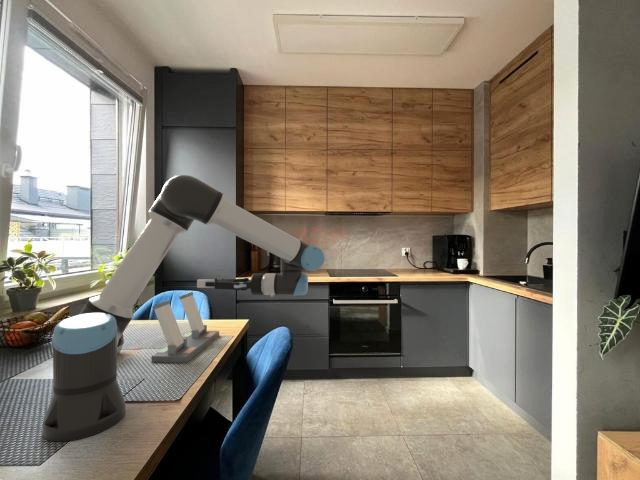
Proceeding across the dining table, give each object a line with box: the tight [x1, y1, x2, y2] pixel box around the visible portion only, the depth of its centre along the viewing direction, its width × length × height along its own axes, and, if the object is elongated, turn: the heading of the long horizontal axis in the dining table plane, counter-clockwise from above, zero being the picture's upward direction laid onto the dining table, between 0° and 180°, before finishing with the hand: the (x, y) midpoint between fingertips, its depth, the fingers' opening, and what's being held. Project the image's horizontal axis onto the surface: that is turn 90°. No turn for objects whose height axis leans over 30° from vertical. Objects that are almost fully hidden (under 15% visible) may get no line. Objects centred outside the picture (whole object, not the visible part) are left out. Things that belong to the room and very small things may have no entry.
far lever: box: [178, 291, 205, 335], centre depth 131 cm, size 3×6×18 cm, turn 177°
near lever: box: [152, 300, 184, 351], centre depth 113 cm, size 3×6×18 cm, turn 177°
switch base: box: [151, 324, 220, 364], centre depth 122 cm, size 12×30×5 cm, turn 177°
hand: (198, 283), depth 112 cm, fingers closed
